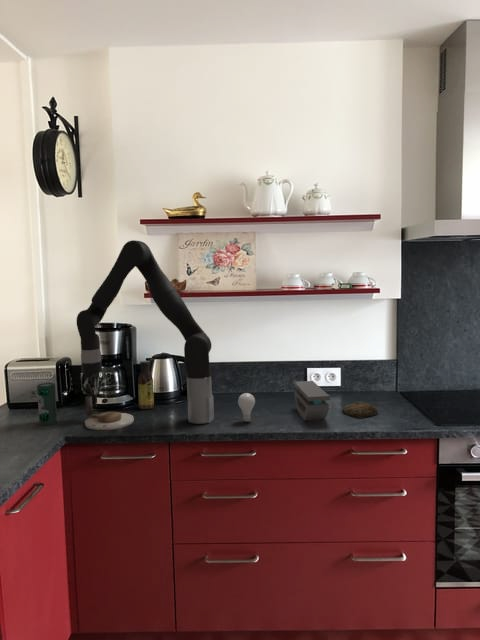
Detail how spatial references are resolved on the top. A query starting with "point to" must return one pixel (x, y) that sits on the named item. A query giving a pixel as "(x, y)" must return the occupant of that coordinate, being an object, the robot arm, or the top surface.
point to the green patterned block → (47, 403)
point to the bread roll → (360, 410)
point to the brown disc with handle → (103, 416)
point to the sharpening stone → (311, 401)
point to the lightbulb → (246, 405)
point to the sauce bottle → (145, 386)
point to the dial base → (109, 423)
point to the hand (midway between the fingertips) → (93, 403)
